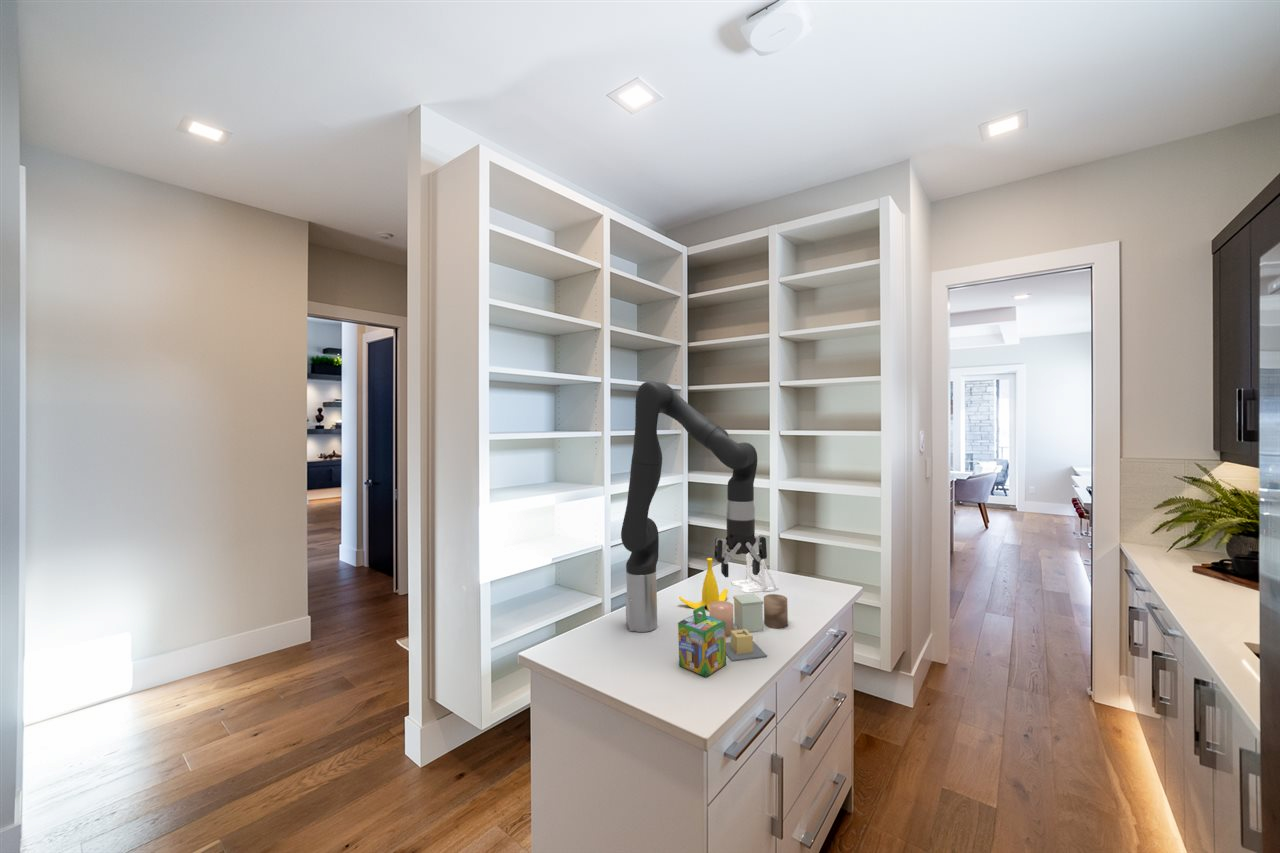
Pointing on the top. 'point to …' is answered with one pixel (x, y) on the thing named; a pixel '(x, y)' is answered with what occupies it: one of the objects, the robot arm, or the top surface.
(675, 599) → the top surface
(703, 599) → the banana peel
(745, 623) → the pale green square canister
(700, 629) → the chalk box
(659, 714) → the top surface
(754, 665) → the top surface
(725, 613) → the canister
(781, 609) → the canister
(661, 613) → the top surface
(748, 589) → the film strip holder
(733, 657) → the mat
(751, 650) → the letter cube
